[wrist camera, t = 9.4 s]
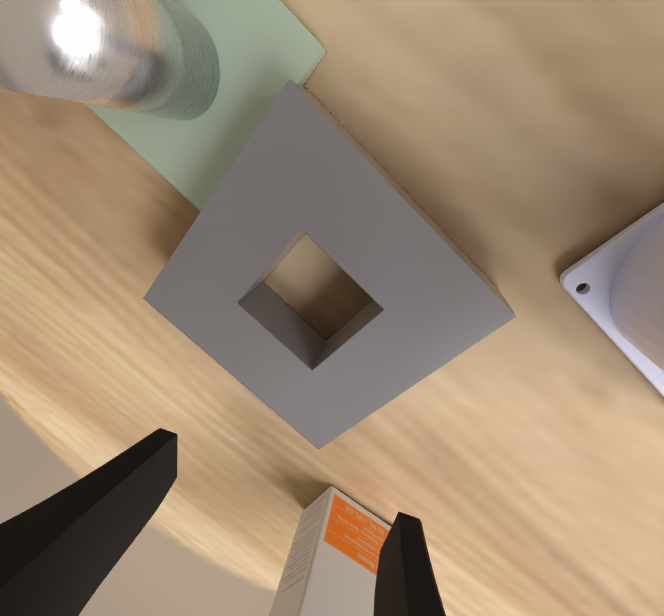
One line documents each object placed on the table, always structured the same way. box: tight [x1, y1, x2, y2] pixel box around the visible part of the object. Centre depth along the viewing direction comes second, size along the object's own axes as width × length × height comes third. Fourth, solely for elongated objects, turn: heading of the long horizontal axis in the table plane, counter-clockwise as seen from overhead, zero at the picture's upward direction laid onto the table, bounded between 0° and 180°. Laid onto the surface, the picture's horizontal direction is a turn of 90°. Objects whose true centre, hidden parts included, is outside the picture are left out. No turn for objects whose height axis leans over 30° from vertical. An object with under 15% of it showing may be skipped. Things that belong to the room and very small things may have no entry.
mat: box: [85, 0, 327, 211], centre depth 15 cm, size 9×9×1 cm
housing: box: [143, 79, 516, 450], centre depth 16 cm, size 12×12×3 cm
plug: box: [0, 0, 220, 121], centre depth 11 cm, size 4×4×7 cm
